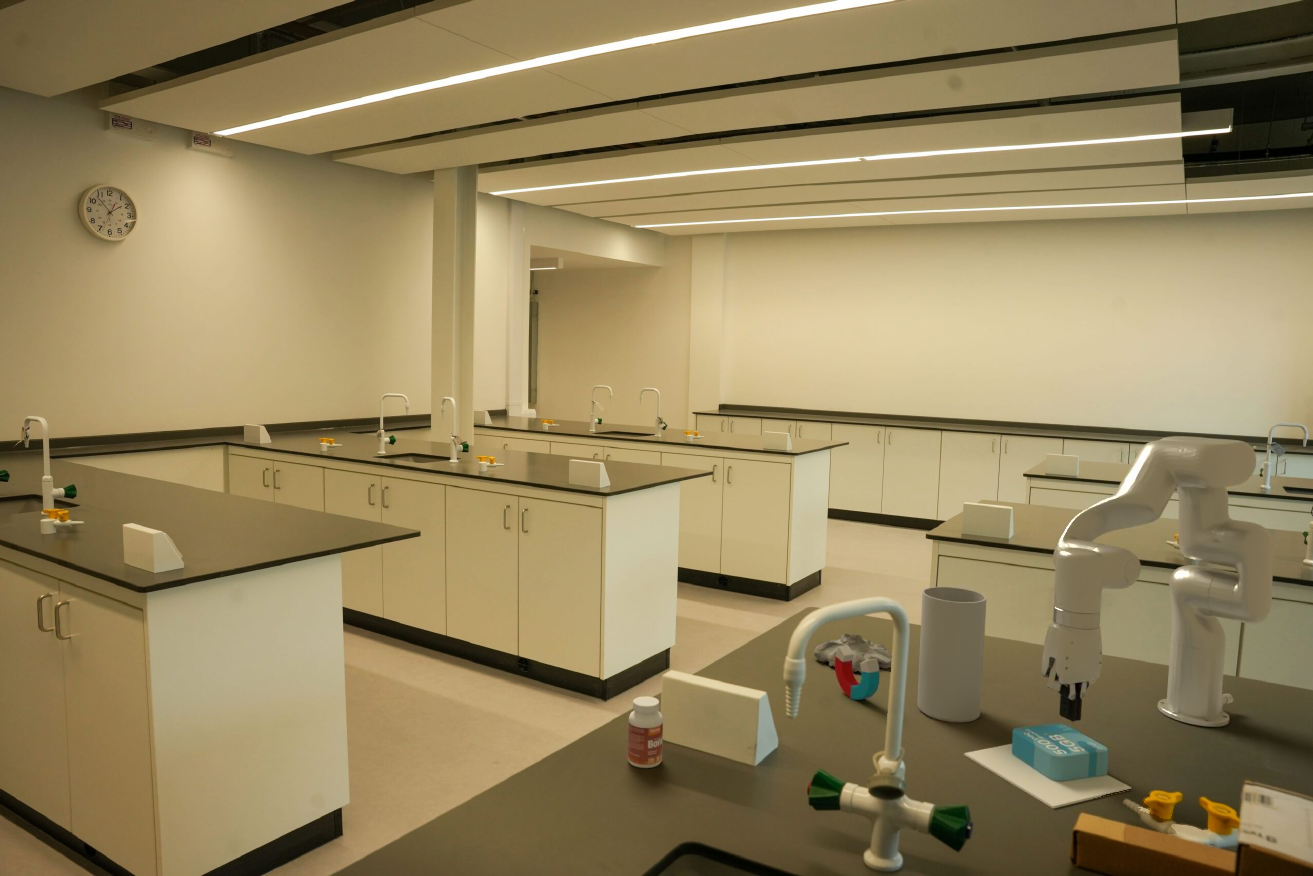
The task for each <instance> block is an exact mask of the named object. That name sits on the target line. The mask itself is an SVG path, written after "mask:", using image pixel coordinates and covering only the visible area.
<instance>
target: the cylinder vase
mask: <svg viewBox="0 0 1313 876" xmlns="http://www.w3.org/2000/svg"><path fill="white" fill-rule="evenodd" d="M921 596H922V597H921V617H920V637H919V638H920V641H919V658H918V659H919V661H918V679H917V680H918V681H917V682H918V685H917V686H918V687H917V703H916V704H917V707H918V709H919V710H920V711H921V712H922V713H923V714H924V713H925V714H924V715H926V716H928V717H931V718H933V719H935V720H939V721H942V722H943V721H944V722H947V723H956V722H957V724H958V723H962V722H963V723H970V722H973V721H976V720H977V719H978V718H980V717H981V711H982V696H983V695H982V693H983V678H984V677H983V673H984V653H985V652H984V651H985V637H986V636H985V635H986V633H985V632H986V617H987V615H986V614H987V596H986V595H985V594H983V593H981V592H978V591H975V590H971V589H967V588H961V587H953V586H933V587H927V588H924V589H922V595H921Z"/></svg>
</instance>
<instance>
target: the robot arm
mask: <svg viewBox="0 0 1313 876" xmlns="http://www.w3.org/2000/svg"><path fill="white" fill-rule="evenodd" d="M1256 467H1257V455H1256V452H1255V450H1254V449H1253V447H1252V446H1251V445H1250V444H1249V443H1247V442H1246V441H1244V440H1243V441H1242V440H1236V439H1225V438H1212V437H1211V438H1209V437H1201V436H1185V435H1181V436H1179V435H1174V436H1166V437H1162V438H1161V439H1157V440H1153V441H1150V442H1147V443H1145V444H1144V445H1143V446H1142V447H1141V448H1140V450H1139V451H1138V453H1137V454H1136V456H1135V458H1134V460H1133V461H1132V463H1131V464H1130V466H1129V468H1128V470H1127V472H1126V473H1125V475H1124V476H1123V479H1122V480H1121V482H1120V483H1119V485H1118V487H1117V489H1116V491H1115V492H1114V493H1113V494H1112V495H1111V496H1109V497H1106V498H1103V499H1102V500H1100V501H1098V502H1096V503H1095V504H1093V505H1090V506H1089V507H1087V508H1086V509H1084V510H1083V511H1081V512H1080V513H1078V514H1077V515H1076V516H1075V517H1073V519H1071V520H1070V522H1069V523H1068V524H1067V526H1066V528H1065V529H1064V531H1063V533H1062V534H1061V536H1060V537H1059V539H1058V541H1057V544H1056V546H1055V548H1054V551H1053V556H1052V563H1053V567H1054V586H1053V603H1052V604H1053V605H1052V620H1051V623H1049V625H1048V628H1047V630H1046V634H1045V638H1044V642H1043V643H1044V644H1043V648H1042V649H1043V651H1042V658H1041V670H1040V671H1041V676H1042V677H1045V678H1048V680H1047V684H1046V687H1047V688H1048V689H1051V690H1053V691H1056V692H1057V694H1058V695H1060V696H1059V697H1060V698H1059V716H1060V717H1062V718H1063V719H1067V720H1069V721H1070V722H1077V721H1078V722H1079V721H1081V718H1082V708H1083V707H1082V706H1083V705H1082V704H1083V699H1084V698H1085V697H1086V691H1087V689H1088V688H1089V687H1090V686H1092V685H1094V684H1096V682H1097V679H1098V678H1099V677H1100V676H1101V673H1102V666H1103V664H1102V663H1103V643H1102V642H1103V641H1102V633H1101V632H1102V631H1101V627H1100V623H1101V621H1100V620H1101V607H1102V590H1123V589H1127V588H1129V587H1131V586H1133V585H1134V584H1135V583H1136V582H1137V581H1138V579H1139V578H1140V575H1141V572H1142V571H1141V570H1142V567H1141V566H1142V565H1141V562H1140V559H1139V557H1138V556H1137V555H1136V554H1135V553H1134V552H1132V551H1131V550H1129V549H1126V548H1123V547H1120V546H1114V545H1110V544H1106V543H1105V544H1104V543H1102V542H1101V543H1099V542H1095V541H1094V540H1096V539H1098V538H1100V537H1101V536H1102V535H1105V534H1108V533H1111V532H1113V531H1119V530H1124V529H1130V528H1134V527H1140V526H1143V525H1148V524H1151V523H1154V522H1156V521H1157V520H1159V519H1160V518H1161V517H1162V514H1163V512H1164V511H1165V509H1166V507H1167V505H1168V504H1169V502H1170V500H1171V498H1172V497H1173V494H1174V492H1175V491H1176V492H1177V494H1178V530H1177V531H1178V532H1177V533H1178V548H1179V551H1180V553H1181V554H1182V555H1183V556H1184V557H1186V558H1188V559H1191V560H1194V561H1199V562H1201V563H1208V564H1212V565H1217V566H1224V567H1228V568H1233V569H1235V570H1236V572H1233V571H1229V570H1225V569H1218V568H1215V567H1214V568H1213V567H1209V566H1202V565H1195V564H1194V565H1193V564H1190V565H1183V566H1179V567H1177V568H1176V569H1175V570H1173V572H1172V573H1171V575H1170V577H1169V582H1168V591H1169V597H1170V604H1171V634H1170V647H1169V648H1170V649H1169V663H1168V664H1169V665H1168V679H1167V680H1168V681H1167V691H1166V692H1167V693H1166V698H1163V699H1160V700H1159V701H1158V702H1157V710H1159V712H1161V713H1162V714H1163V715H1164V716H1166V717H1168V718H1171V719H1173V720H1176V721H1179V722H1182V723H1185V724H1189V725H1194V726H1198V727H1199V726H1201V727H1212V728H1219V727H1224V726H1227V725H1228V724H1229V723H1230V715H1229V713H1227V712H1226V711H1224V710H1223V706H1224V705H1225V704H1231V703H1233V702H1234V696H1232V694H1230V693H1223V682H1224V670H1225V669H1224V666H1225V656H1226V655H1225V654H1226V645H1227V639H1226V633H1225V629H1224V628H1223V626H1222V624H1221V622H1220V621H1219V619H1218V618H1222V619H1225V620H1230V621H1235V622H1238V623H1243V624H1250V625H1251V624H1252V625H1254V624H1255V625H1256V624H1260V623H1262V622H1264V621H1265V620H1267V618H1268V616H1269V614H1270V611H1271V608H1272V607H1271V606H1272V600H1273V599H1272V598H1273V579H1274V578H1273V575H1274V574H1273V573H1274V572H1273V571H1274V569H1273V568H1274V544H1273V539H1272V536H1271V534H1270V532H1269V531H1268V529H1267V528H1266V527H1265V526H1263V525H1262V524H1259V523H1256V522H1251V521H1244V520H1239V519H1238V520H1237V519H1232V518H1231V517H1230V513H1229V494H1228V492H1229V491H1228V490H1227V488H1228V487H1235V486H1239V485H1243V484H1244V483H1246V482H1247V481H1249V480H1250V479H1251V477H1252V476H1253V474H1254V472H1255V471H1256Z"/></svg>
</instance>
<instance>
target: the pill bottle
mask: <svg viewBox="0 0 1313 876" xmlns="http://www.w3.org/2000/svg"><path fill="white" fill-rule="evenodd" d="M632 709H633V711H631V712H630V714H629V717H628V731H627V734H628V739H627V740H628V741H627V759H628V762H629V764H631V766H634V767H637V768H641V769H648V768H649V769H650V768H654V767H657V766H659V765H660V764H661V762H662V761H663V740H664V739H663V736H664V735H663V734H664V733H663V732H664V717H663V715H662V713H661V712H660V701H659V699H658V698H656V697H653V696H648V695H647V696H646V695H645V696H638V697H635V698H634V699H633V700H632Z"/></svg>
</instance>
